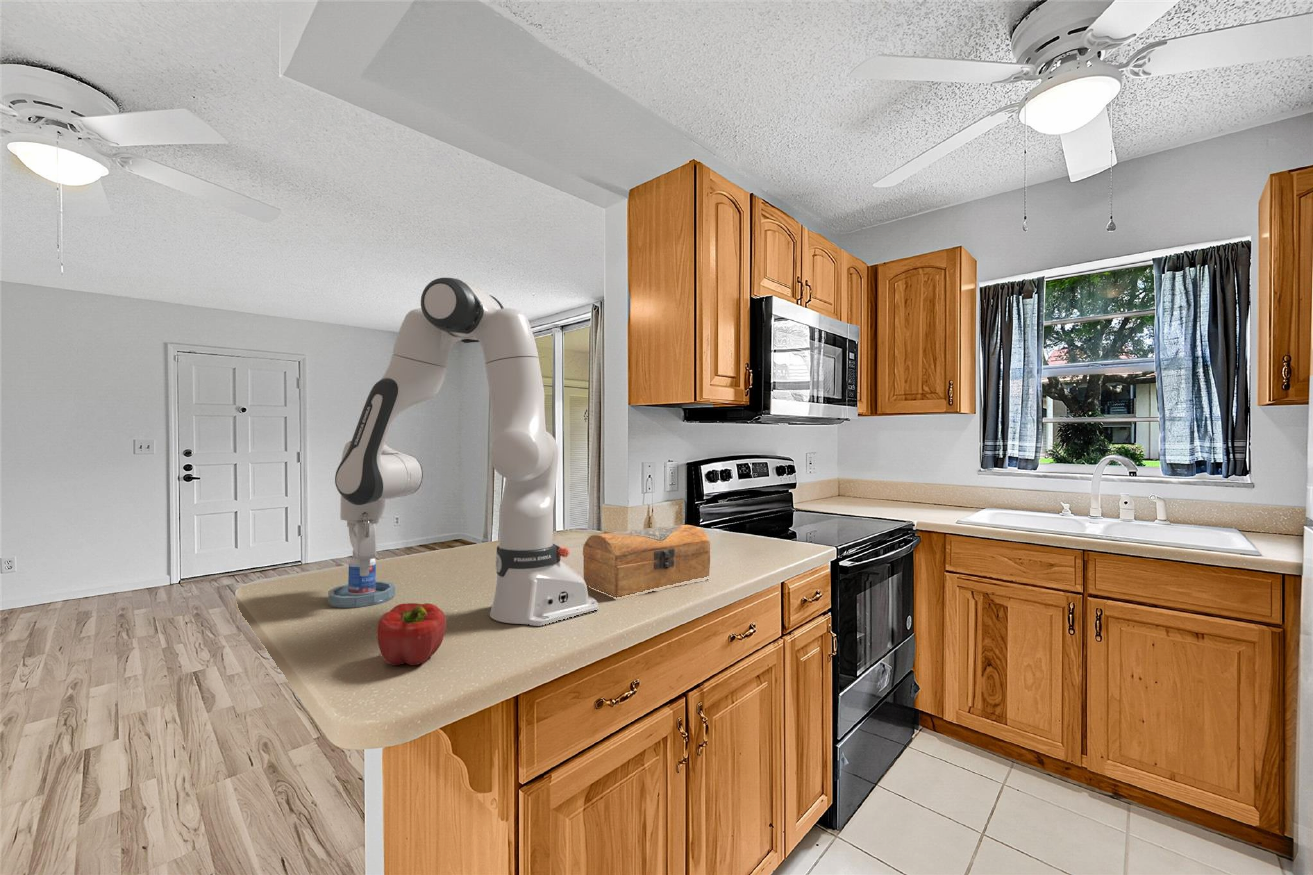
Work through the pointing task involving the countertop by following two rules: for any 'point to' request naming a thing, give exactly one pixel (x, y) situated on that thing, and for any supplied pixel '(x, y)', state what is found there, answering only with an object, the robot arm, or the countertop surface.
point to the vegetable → (410, 633)
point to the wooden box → (645, 559)
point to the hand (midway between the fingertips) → (362, 571)
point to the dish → (361, 596)
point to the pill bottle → (361, 578)
